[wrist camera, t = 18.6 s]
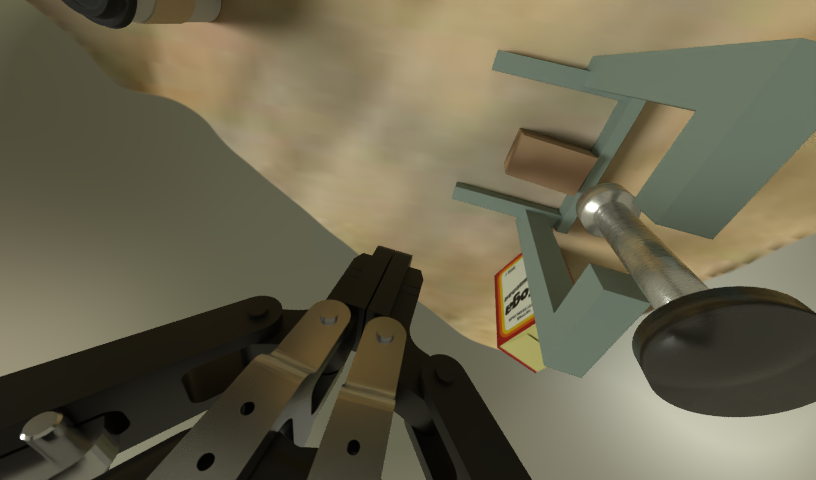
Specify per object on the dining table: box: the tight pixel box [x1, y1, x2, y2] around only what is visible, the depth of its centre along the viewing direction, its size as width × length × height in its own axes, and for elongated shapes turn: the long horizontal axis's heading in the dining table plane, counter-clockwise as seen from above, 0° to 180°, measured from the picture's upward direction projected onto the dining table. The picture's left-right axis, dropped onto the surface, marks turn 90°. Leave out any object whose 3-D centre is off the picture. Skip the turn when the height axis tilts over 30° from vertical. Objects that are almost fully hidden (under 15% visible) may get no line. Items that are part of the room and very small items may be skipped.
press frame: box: [452, 38, 816, 378], centre depth 28 cm, size 22×17×26 cm
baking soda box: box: [495, 253, 575, 373], centre depth 42 cm, size 10×6×16 cm
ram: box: [576, 183, 816, 417], centre depth 18 cm, size 6×6×16 cm
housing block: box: [504, 128, 598, 196], centre depth 37 cm, size 5×9×5 cm, turn 76°
